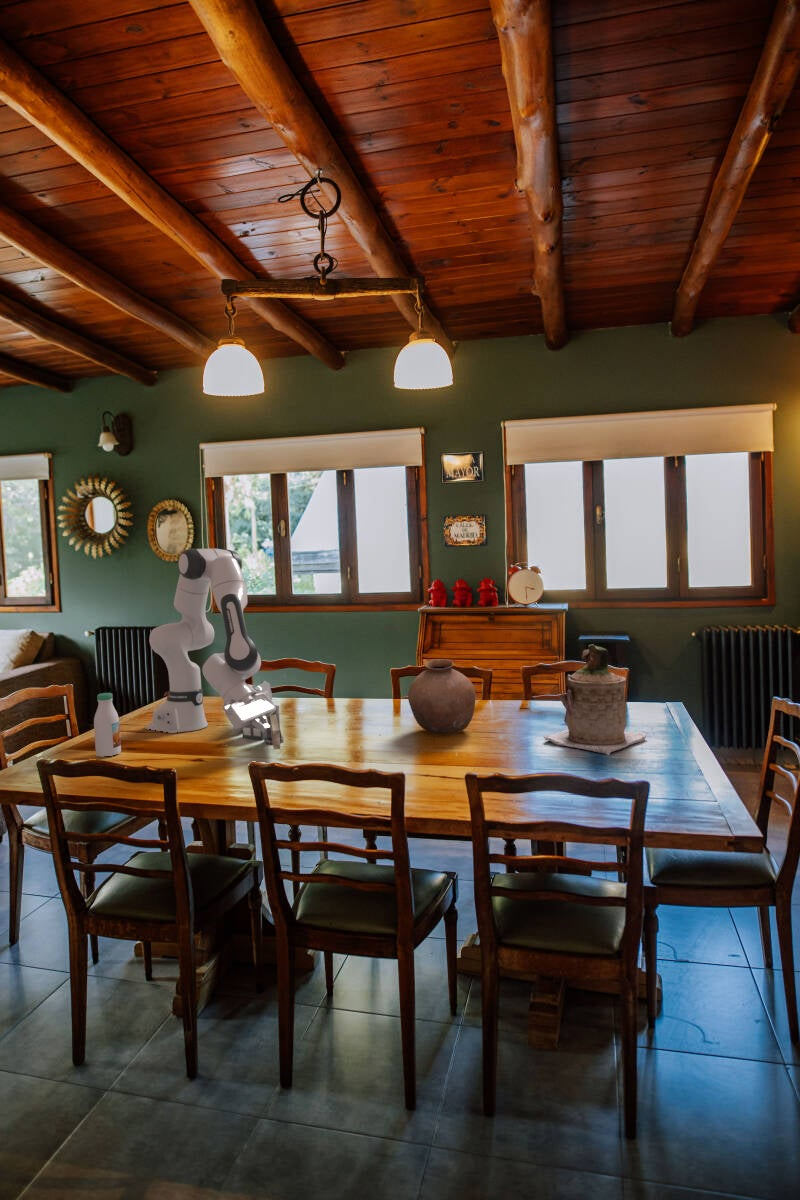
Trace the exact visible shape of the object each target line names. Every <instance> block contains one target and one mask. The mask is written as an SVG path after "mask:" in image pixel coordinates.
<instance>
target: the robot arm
mask: <svg viewBox="0 0 800 1200" xmlns="http://www.w3.org/2000/svg"><path fill="white" fill-rule="evenodd" d="M177 562H178V563H177V567H178V571H179V573H180V574H179V576H178V580H177V586H176V589H175V595H174V600H173V606H174V609H175V610H176V611H177V613H180V614H181V620H180V621H177V622H171V623H170V622H169V623H166V624H165V623H164V624H162V625H160V626H159V625H158V626H157V627H154V628H153V629H152V630H151V631H150V634H149V638H148V639H149V641H148V642H149V645H150V647H151V650H153V652H154V653H156V654H158V656H160V657H161V658H162V660H163V661H164V663H165V665H166V668H167V671H168V682H169V690H168V691H165V692H164V695H163V696H164V697H165V696H166V700H164V702H163V703H162V704H160V705H159V706H158V707H157V708H156V709H155V710H154V711H153V713H152V719H151V721H152V722H151V723H148V724H147V725H146V726H145V730H149V729H151V730H150V731H155V730H156V731H155V732H160V731H163V732H162V733H166V732H168V734H177V732H178V733H183V732H191V731H192V732H193V731H198V730H201V729H204V728H207V727H208V726H209V724H208V721H207V718H206V714H205V710H204V704H203V701H204V691H203V688H202V678H201V670H202V674H203V677H204V678H205V680H206V681H207V683H208V684H209V685H210V686H211V688H212V689H213V690H214V691H215V692H217V693H218V694H219V696H220V698H221V700H222V701H223V702H224V703H223V704H222V710H223V711H224V712H225V716H226V717H227V719H228V721H229V722H230V723H231V725H232V726H233V727H234V729H237V730H240V729H242V727H245V726H247V725H249V724H252V725H253V726H255V727H256V728H258V729H260V730H261V731H262V732H266V731H268V730H269V729H270V728H271V726H270V725H269V723H268V720H267V718H266V717H268V716H271V715H272V714H273V713H274V711H275V710H276V706H275V705H276V704H275V703H274V702H273V700H272V701H271V699H270V698H269V697H268V696H267V695H266V694H265V693H263V692H261V691H262V688H261V687H260V686H256V685H257V684H256V685H254V684H249V683H247V682H246V680H247V679H249V678H251V677H252V676H253V677H254V675H256V674H257V673H258V672H259V671H260V669H261V667H262V659H261V655H260V654H259V652H258V649H257V647H256V644H255V643H254V641H253V640H252V639H251V638H250V637H249V635H248V631H247V627H246V626H247V625H246V622H245V618H244V609H245V608H246V607H247V605H248V591H247V585H246V580H245V577H244V574H243V572H242V568H243V561H242V557H241V556H240V554H239V553H238V552H237V551H234V550H230V549H222V548H221V549H220V548H215V547H214V548H210V547H209V548H193V547H192V548H188V549H184V550H183V551H182V552H181V553H180V554H179V558H178V561H177ZM210 586H211V591H212V595H213V598H214V601H215V604H216V606H217V609H218V611H219V612H220V613H221V615H222V618H223V619H222V620H223V623H224V628H225V629H224V630H225V634H226V643H225V647H224V652H221V653H217V652H216V653H213V654H211V655H210V656H208V658H207V659H206V660H205V661H204V663H203V666H202V667H201V668H200V665H198V664H197V663H196V662H193V661H191V660H190V659H191V658H190V657H189V655H188V652H192V651H196V650H201V649H203V648H205V647H208V646H210V645H211V644H213V642H214V639H215V633H216V632H215V630H214V626H213V625H212V623H210V621H209V620H208V619H207V616H206V609H207V602H208V596H209V590H210ZM261 722H262V723H261Z"/></svg>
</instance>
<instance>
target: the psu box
mask: <svg viewBox="0 0 800 1200" xmlns="http://www.w3.org/2000/svg"><path fill="white" fill-rule="evenodd" d="M261 723H262V722H261ZM241 729H242V739H244V738H248V739H247V740H256V739H258V741H264V738H266V737H267V731H266V732H262V731H261V730H260V729H258V728H256V727H255V726H253V725H252V724H249V725H247V726H245V727H242V728H241Z"/></svg>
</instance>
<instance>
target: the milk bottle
mask: <svg viewBox="0 0 800 1200" xmlns="http://www.w3.org/2000/svg"><path fill="white" fill-rule="evenodd" d="M96 697H97V702H98V705H97V709H96V712H95V714H94V718H93V727H94V728H93V730H94V731H93V732H94V733H93V734H94V743H95V745H94V746H95V756H96V757H98V756H103V757H102V758H105V757H104V756H111V755H116V754H119V753H120V754H121V753H122V742H121V728H120V718H119V715H118V712H117V710H116V708H115V705H114V704H113V698H114V697H113V693H112V692H102V693H99V694H97V696H96ZM120 754H119V755H120ZM116 756H117V755H116Z"/></svg>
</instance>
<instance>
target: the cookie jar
mask: <svg viewBox="0 0 800 1200" xmlns="http://www.w3.org/2000/svg"><path fill="white" fill-rule="evenodd" d="M587 648H588V649H584V650H583V651H582V653H581V654H582V655H581V660H583V661H585V663H584V664H583V665H582V667H581V668H579V669H577V670H576V671H575V672H574V673H572V674H567V676H566V677H565V678H566V680H565V686H566V688H567V691H566V693H561V694H560V695H559V700H560V702H561V703H562V705H563V707H564V709H565V716H564V720H563V722H564V724H565V726H567V729H564V730H561V731H559V732H556V733H553V734H550V735H545V736H543V738H544V740H546V741H550V742H551V743H553V744H555V745H556V746H565V747H570V748H575V749H582V750H586V751H591V752H596V753H601V754H604V755H607V756H610V755H611V753H612V752H615V751H619V750H622V749H623V748H626V747H628V746H631V745H634V744H637V743H641V742H644V741H646V738H647V734H646V733H639V732H631V731H625V730H626V727H627V724H628V723H627V722H628V721H627V707H628V706H627V703H626V699H625V686H626V683H627V679H626V677H624V676H622V675H617V674H615V673H614V672H611V671H610V670H609V668H608V667H609V650H608V649H606V648H604V647H602V646H597V645H594V643H593V644H589V645H588V647H587Z"/></svg>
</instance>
